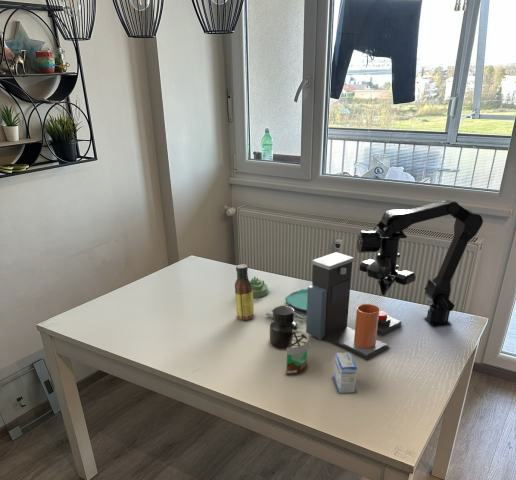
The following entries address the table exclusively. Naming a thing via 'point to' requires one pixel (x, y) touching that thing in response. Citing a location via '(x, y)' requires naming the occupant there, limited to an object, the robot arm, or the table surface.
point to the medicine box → (345, 372)
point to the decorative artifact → (258, 287)
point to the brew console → (387, 325)
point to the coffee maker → (334, 304)
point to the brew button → (382, 315)
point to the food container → (297, 352)
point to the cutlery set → (296, 302)
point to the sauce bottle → (243, 294)
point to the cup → (366, 326)
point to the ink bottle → (282, 327)
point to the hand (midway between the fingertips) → (383, 295)
